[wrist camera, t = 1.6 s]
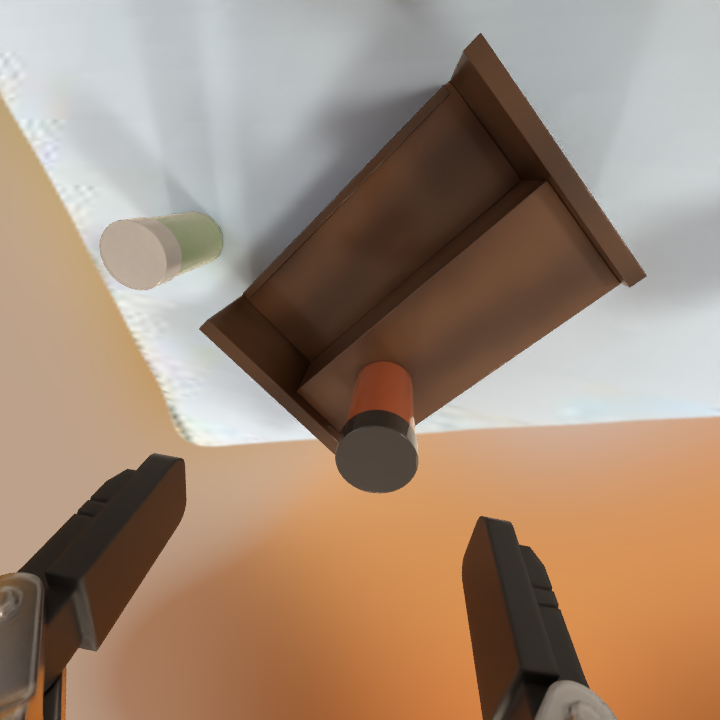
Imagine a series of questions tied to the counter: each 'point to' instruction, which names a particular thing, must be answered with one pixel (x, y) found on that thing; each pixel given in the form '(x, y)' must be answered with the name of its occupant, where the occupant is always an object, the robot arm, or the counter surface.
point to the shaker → (159, 247)
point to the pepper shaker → (379, 430)
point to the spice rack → (430, 259)
